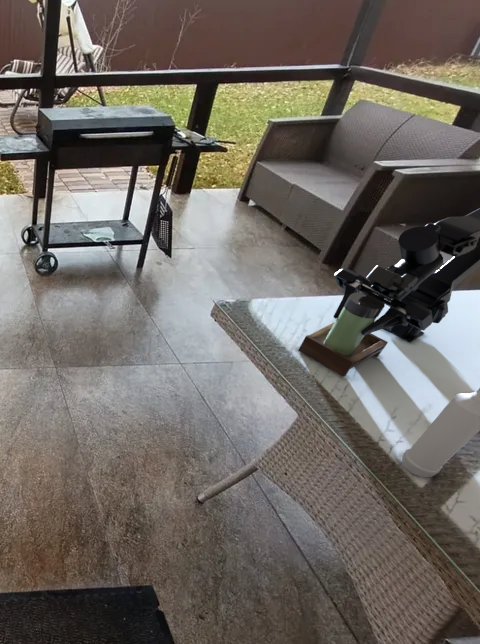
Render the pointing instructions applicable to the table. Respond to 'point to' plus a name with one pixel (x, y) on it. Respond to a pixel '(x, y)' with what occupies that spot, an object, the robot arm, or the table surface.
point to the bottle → (445, 435)
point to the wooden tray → (332, 358)
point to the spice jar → (353, 322)
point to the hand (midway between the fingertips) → (348, 325)
